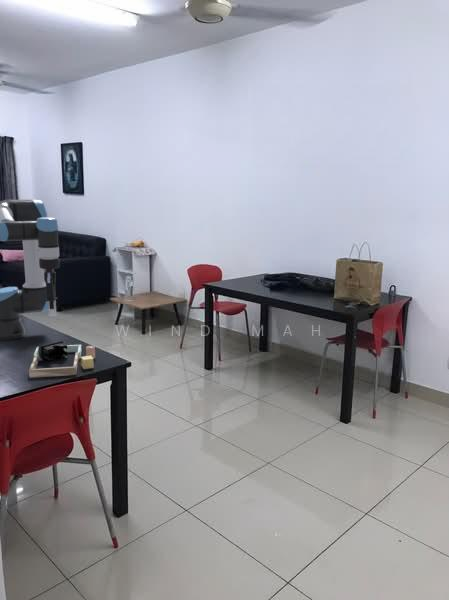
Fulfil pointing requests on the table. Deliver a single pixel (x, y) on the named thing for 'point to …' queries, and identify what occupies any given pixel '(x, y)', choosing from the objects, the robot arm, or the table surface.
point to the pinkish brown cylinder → (90, 351)
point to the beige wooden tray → (52, 369)
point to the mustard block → (87, 362)
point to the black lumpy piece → (53, 352)
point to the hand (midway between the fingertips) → (52, 316)
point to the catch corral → (70, 349)
